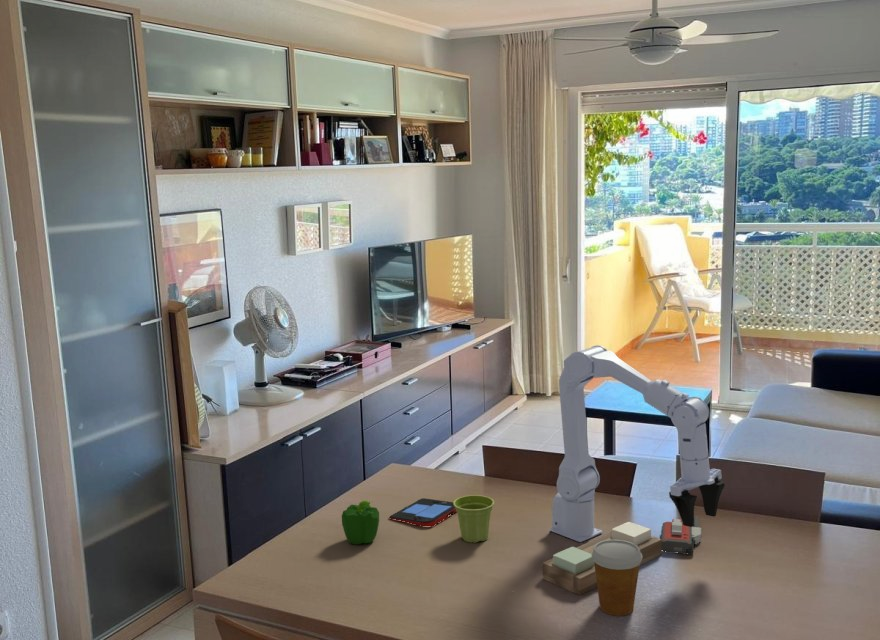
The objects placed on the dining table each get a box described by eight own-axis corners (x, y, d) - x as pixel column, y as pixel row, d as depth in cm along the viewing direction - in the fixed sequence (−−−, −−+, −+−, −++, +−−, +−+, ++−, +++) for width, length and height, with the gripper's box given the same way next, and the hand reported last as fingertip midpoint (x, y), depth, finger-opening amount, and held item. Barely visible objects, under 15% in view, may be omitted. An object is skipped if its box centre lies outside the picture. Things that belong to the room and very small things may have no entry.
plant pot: (448, 543, 196) (447, 507, 195) (462, 527, 205) (461, 492, 203) (487, 548, 193) (486, 511, 191) (500, 532, 201) (499, 497, 200)
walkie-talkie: (702, 559, 185) (700, 523, 204) (702, 540, 184) (701, 506, 203) (660, 555, 187) (662, 520, 206) (660, 536, 187) (662, 503, 206)
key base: (542, 578, 177) (542, 562, 177) (624, 540, 195) (624, 526, 194) (580, 595, 170) (580, 578, 169) (661, 554, 187) (661, 539, 187)
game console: (421, 502, 223) (421, 493, 223) (462, 511, 216) (462, 503, 216) (387, 520, 212) (387, 512, 211) (429, 531, 204) (429, 522, 204)
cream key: (611, 542, 188) (611, 529, 188) (628, 534, 192) (628, 521, 192) (634, 550, 184) (634, 537, 183) (651, 542, 188) (651, 529, 187)
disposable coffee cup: (585, 597, 169) (585, 540, 167) (633, 594, 170) (633, 537, 168) (598, 622, 159) (598, 561, 157) (648, 618, 160) (649, 557, 158)
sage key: (553, 568, 176) (552, 555, 176) (572, 560, 180) (572, 546, 179) (575, 578, 172) (575, 564, 171) (594, 569, 175) (594, 555, 175)
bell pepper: (336, 540, 199) (334, 499, 198) (364, 530, 205) (363, 490, 203) (357, 551, 193) (355, 509, 191) (386, 541, 198) (384, 499, 197)
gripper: (688, 468, 171) (694, 534, 172) (731, 451, 179) (737, 514, 180) (659, 463, 176) (665, 527, 178) (703, 447, 185) (708, 508, 186)
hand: (699, 520), depth 179 cm, fingers open, 7 cm apart
